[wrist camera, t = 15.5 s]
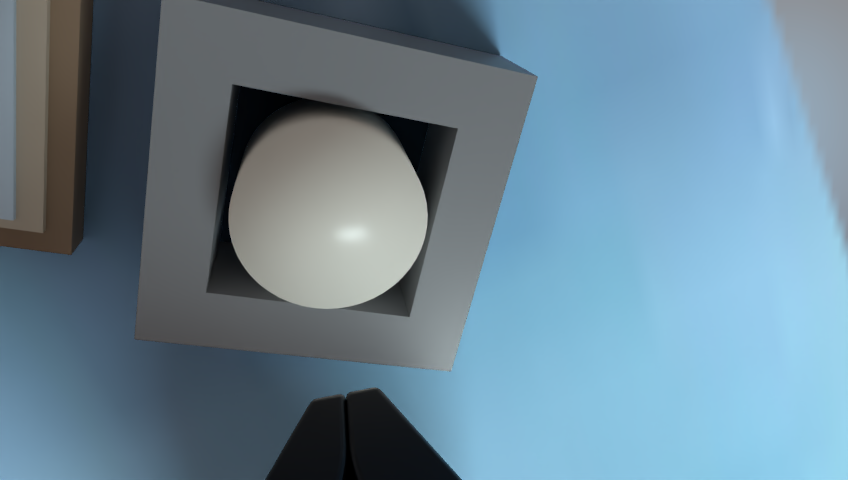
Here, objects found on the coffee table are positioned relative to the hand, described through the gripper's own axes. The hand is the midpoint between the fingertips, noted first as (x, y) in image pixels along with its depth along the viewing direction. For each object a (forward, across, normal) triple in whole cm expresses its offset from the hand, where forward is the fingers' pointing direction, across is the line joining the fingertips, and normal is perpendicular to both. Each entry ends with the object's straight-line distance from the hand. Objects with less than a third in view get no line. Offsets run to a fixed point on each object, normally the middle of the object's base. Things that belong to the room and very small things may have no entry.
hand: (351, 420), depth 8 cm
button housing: (+11, 0, 0) cm, 11 cm away
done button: (+10, 0, 0) cm, 10 cm away
